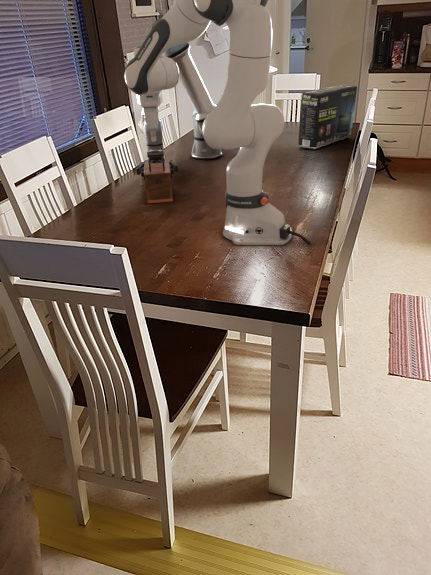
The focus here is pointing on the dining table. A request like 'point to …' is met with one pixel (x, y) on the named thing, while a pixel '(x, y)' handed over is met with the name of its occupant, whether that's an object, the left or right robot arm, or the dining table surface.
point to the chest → (159, 189)
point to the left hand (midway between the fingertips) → (157, 175)
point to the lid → (156, 165)
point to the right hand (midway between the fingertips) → (153, 138)
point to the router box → (326, 115)
